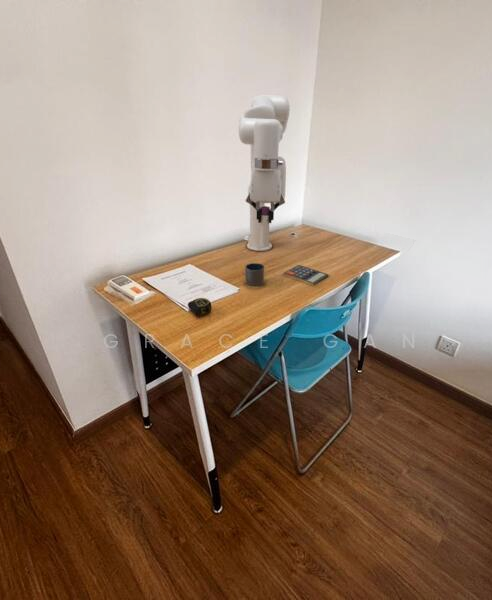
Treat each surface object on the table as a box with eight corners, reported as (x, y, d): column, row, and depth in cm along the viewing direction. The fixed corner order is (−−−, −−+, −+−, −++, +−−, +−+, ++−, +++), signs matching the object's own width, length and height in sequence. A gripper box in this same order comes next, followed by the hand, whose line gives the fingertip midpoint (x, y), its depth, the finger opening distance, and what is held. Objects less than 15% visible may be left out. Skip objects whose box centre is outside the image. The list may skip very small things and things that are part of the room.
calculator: (298, 264, 143) (328, 273, 135) (298, 266, 143) (328, 275, 135) (283, 272, 135) (313, 283, 127) (283, 274, 135) (313, 285, 127)
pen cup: (241, 285, 126) (241, 267, 122) (252, 278, 131) (252, 261, 128) (257, 290, 123) (257, 272, 119) (267, 283, 128) (267, 265, 124)
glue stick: (258, 244, 114) (259, 207, 107) (263, 242, 116) (264, 205, 110) (265, 246, 112) (266, 208, 106) (270, 244, 115) (271, 207, 108)
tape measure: (187, 310, 109) (186, 300, 107) (206, 304, 112) (205, 295, 110) (195, 319, 104) (194, 309, 102) (215, 313, 107) (214, 303, 105)
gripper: (291, 163, 104) (288, 219, 113) (241, 162, 105) (242, 218, 114) (292, 166, 98) (288, 226, 107) (238, 164, 98) (239, 224, 107)
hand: (265, 221), depth 110 cm, fingers closed on glue stick, 3 cm apart
